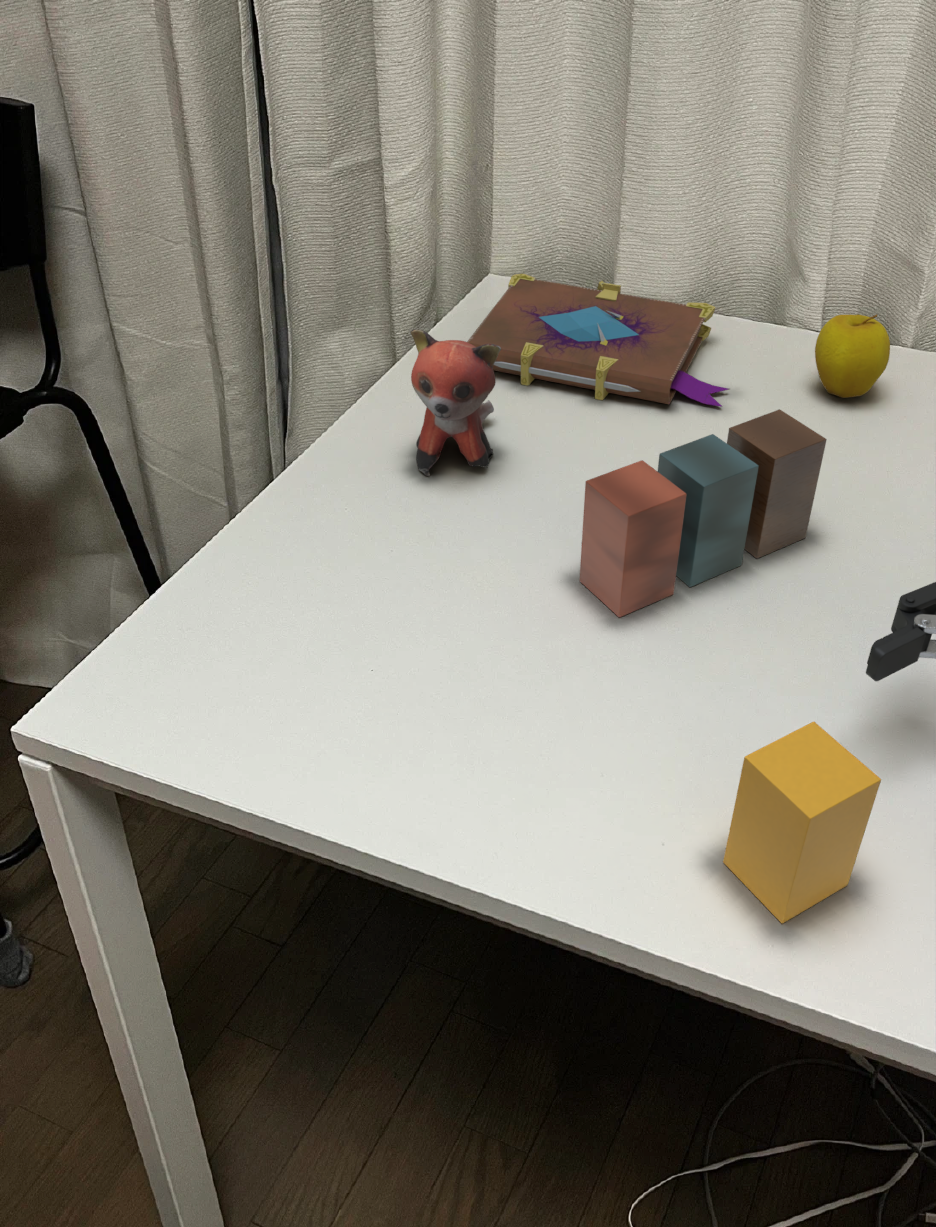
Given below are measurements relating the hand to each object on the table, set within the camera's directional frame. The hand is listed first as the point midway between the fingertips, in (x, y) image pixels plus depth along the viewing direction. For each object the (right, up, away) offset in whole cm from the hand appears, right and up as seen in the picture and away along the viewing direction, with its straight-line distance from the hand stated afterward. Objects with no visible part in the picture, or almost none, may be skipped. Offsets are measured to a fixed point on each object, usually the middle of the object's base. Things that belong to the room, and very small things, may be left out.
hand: (928, 711), depth 67 cm
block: (-8, -9, +2) cm, 12 cm away
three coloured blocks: (-8, +10, +24) cm, 27 cm away
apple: (+9, +26, +43) cm, 51 cm away
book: (-12, +30, +49) cm, 58 cm away
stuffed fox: (-26, +19, +36) cm, 49 cm away
